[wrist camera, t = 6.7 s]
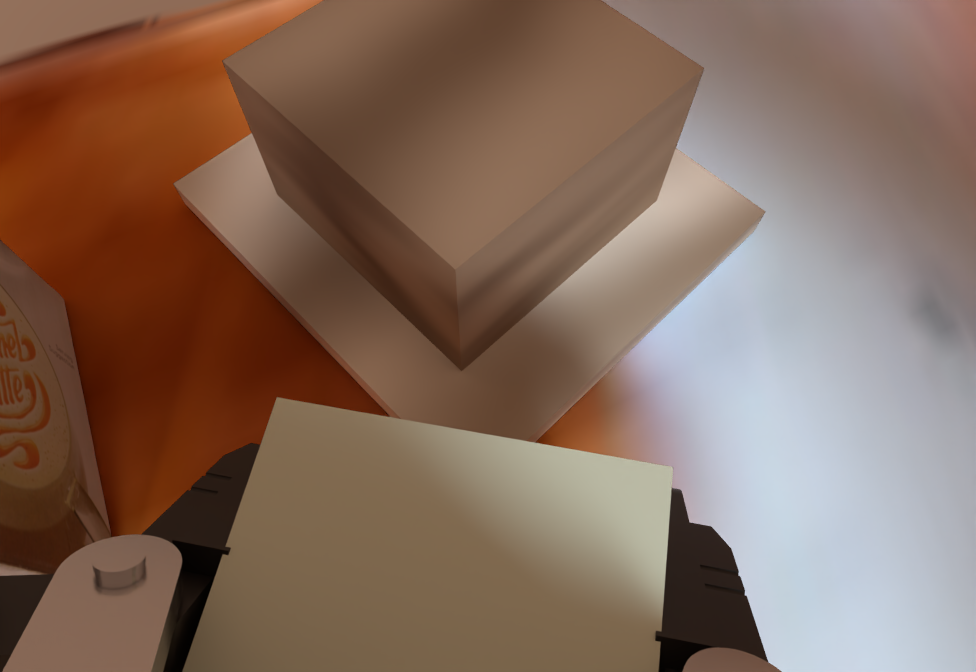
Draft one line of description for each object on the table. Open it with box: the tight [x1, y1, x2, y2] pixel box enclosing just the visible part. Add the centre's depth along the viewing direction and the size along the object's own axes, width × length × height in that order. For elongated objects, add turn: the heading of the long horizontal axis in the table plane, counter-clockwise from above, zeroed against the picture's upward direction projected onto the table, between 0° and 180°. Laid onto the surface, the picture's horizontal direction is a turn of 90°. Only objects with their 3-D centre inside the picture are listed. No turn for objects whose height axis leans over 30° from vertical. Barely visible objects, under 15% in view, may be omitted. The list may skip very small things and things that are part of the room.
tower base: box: [173, 0, 765, 443], centre depth 19 cm, size 13×12×6 cm
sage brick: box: [182, 397, 673, 672], centre depth 11 cm, size 5×4×8 cm
